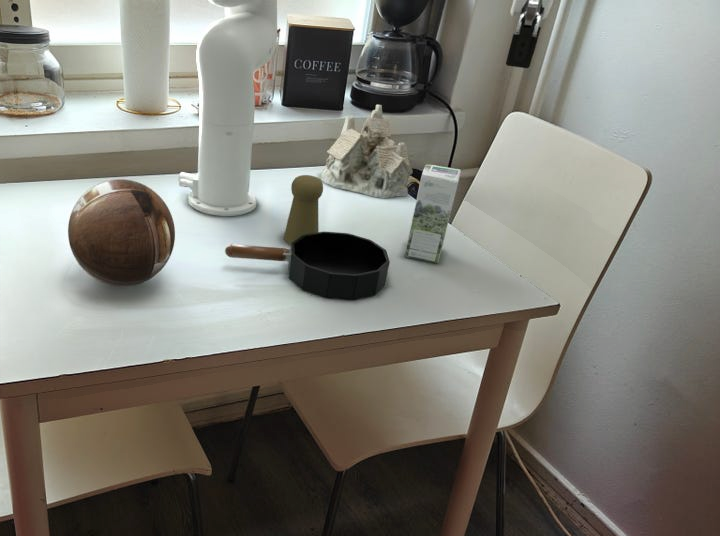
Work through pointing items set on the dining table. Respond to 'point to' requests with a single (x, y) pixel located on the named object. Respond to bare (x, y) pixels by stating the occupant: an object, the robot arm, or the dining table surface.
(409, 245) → the syrup box
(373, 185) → the ceramic cottage
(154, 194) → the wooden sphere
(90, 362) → the dining table surface
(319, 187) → the olive game pawn
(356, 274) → the frying pan
